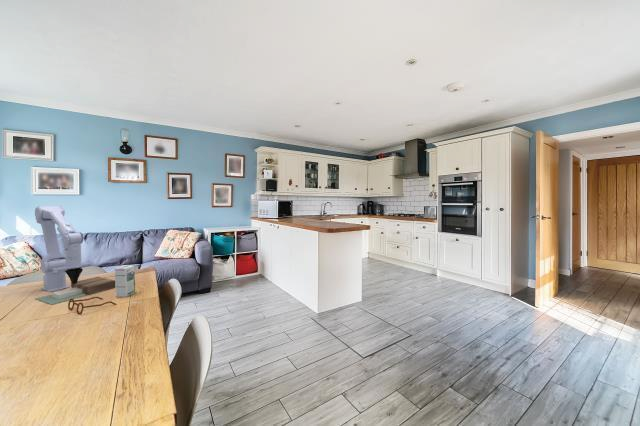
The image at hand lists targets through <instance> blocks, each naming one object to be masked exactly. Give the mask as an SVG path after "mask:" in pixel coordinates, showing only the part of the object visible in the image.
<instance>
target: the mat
mask: <svg viewBox="0 0 640 426" xmlns="http://www.w3.org/2000/svg"><path fill="white" fill-rule="evenodd" d="M87 296H88V295H86V294H83V293H80V294H77V295H73V296H69V297H65V298H61V299H57V298H54V297H53V293H52V294H48V295H45V296H39V297H36V298H34V300H37V301H40V302H42V303H45V304H47V305H51V306H53V305H58V304H60V303H64V302H69V300H70V299H74V300H77V299H80V298H82V297H87Z"/></svg>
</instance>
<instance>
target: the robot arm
mask: <svg viewBox="0 0 640 426" xmlns="http://www.w3.org/2000/svg"><path fill="white" fill-rule="evenodd" d="M65 214H66V210H65V208H64V207H63V206H61V205H59V206H58V205H55V206H54V205H53V206H52V205H51V206H49V205H48V206H46V205H45V206H43V205H41V206H40V205H38V206H37V207H35V209H34V216H35V217H34V218H35V222H36V223H37V224H40V225H41V229H42V235H43V239H44V244H45V249H46V255H45V256H43V257H42V258H41V260H40V270H41V273H44V275H43V287H42V288H41V290H43V291H47V292H51V293H52V292H54V291H55V292H56V291H59V290H60V291H61V290H65V289H68V288H71V285H67V277H68V278H69V281H70V282H71V283H72V284H76V283H77V281H79V278H80V276H81V273H82V272H83V268H88V267H89V268H90V267H93V262H91V261H90V262H82V244H83V242H84V235H83V233H82V232H81V231H77V230H76V228H74V226H73V224H71V223H69V222H67V220H66V218H65ZM56 225H57V227H56ZM56 229H57V230H56ZM57 232H58V233H59V234H60V236H61V242H62V244H63V249H64V253H62V252H61V250H60V249H61V248H60V245H59V243H60V242H59V240H58V234H57ZM66 275H67V277H66ZM71 283H70V284H71Z"/></svg>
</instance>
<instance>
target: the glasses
mask: <svg viewBox="0 0 640 426" xmlns="http://www.w3.org/2000/svg"><path fill="white" fill-rule="evenodd" d="M94 299H97V300H98V299H99V300H101V301H102V300H104V297H99V296H94V297H90V298H84V299H70V300H68V303H67V308H68V310H69V311H72V310H73V309H74V307H75V306H76V313H77V314H78V315H81V314H82V313H83V311H84V309H85V308H86V309H88V308H95V307H101V306H103V305H107V304H112V305H114V306H116V305H117V303H116V302H113V301H111V300H110V301H105V302H103V303H100V304H94V305H93V304H92V305H87V306H86V305H84V304H83V302H85V301H90V300H94ZM77 302H78V303H77ZM71 303H72V305H71ZM80 305H81V308H80V309H81V310H80V311H79V307H80ZM70 306H71V307H70Z"/></svg>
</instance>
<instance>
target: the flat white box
mask: <svg viewBox="0 0 640 426" xmlns="http://www.w3.org/2000/svg"><path fill="white" fill-rule="evenodd" d="M80 293H82V294H83V292H82V289H80V288H77V287H75V288H71V287H70V288H69V289H68V288H66V289H62V290H60V291H59V290H58V291H55V292H53V293H52V294H53V297H54V298H57V299H61V298H65V297H69V296H73V295H77V294H80Z"/></svg>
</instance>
